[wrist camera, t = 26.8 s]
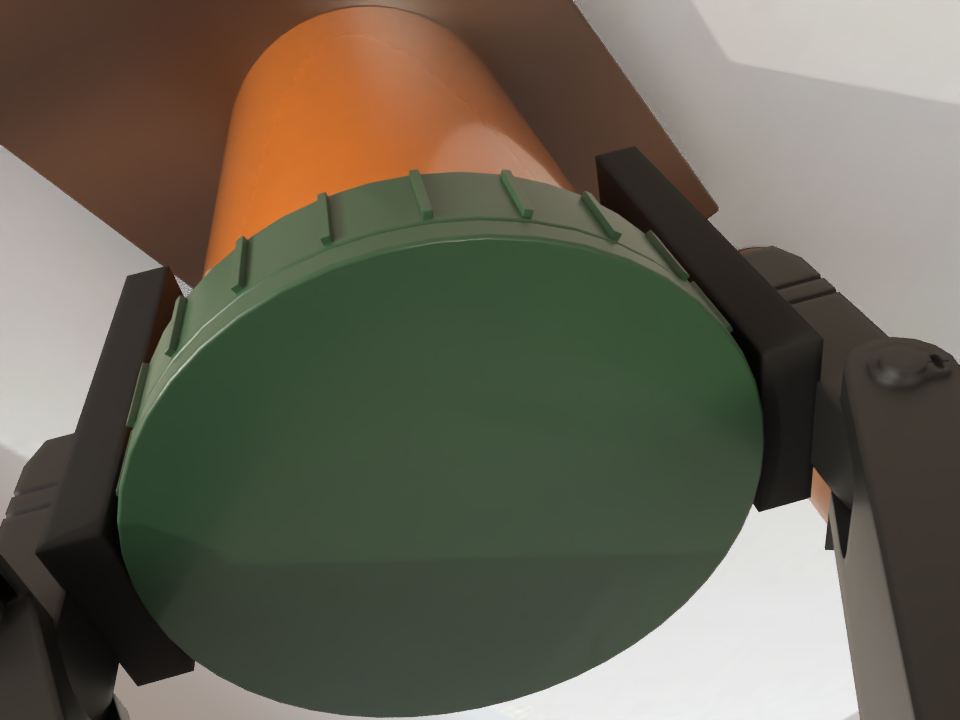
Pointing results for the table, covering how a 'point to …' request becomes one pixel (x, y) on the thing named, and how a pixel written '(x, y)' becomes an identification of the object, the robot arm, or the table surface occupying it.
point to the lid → (434, 448)
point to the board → (218, 78)
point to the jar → (363, 118)
